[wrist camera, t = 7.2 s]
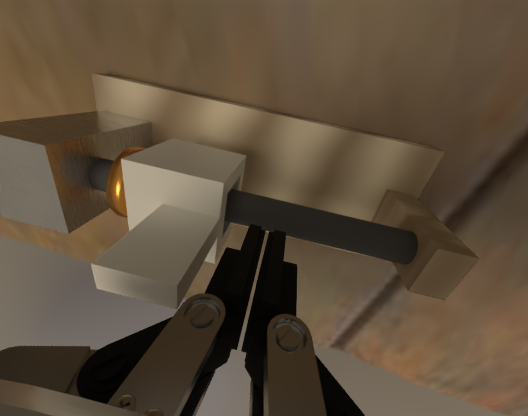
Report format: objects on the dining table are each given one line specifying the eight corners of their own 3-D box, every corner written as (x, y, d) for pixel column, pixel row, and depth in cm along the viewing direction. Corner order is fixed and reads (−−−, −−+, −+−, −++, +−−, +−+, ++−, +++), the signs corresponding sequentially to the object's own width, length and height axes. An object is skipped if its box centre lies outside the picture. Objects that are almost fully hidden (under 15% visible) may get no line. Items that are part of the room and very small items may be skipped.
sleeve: (246, 155, 15) (177, 239, 7) (236, 219, 17) (176, 340, 9) (173, 138, 15) (15, 199, 7) (173, 203, 18) (57, 308, 9)
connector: (188, 130, 18) (106, 160, 10) (186, 188, 20) (119, 246, 13) (103, 110, 18) (-37, 126, 11) (111, 170, 20) (2, 217, 13)
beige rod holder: (434, 147, 17) (547, 196, 9) (377, 249, 22) (420, 339, 14) (106, 74, 18) (-43, 62, 10) (120, 187, 23) (26, 239, 15)
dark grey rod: (407, 224, 14) (423, 244, 12) (392, 250, 15) (404, 271, 13) (82, 148, 15) (53, 156, 13) (88, 176, 16) (61, 187, 14)
